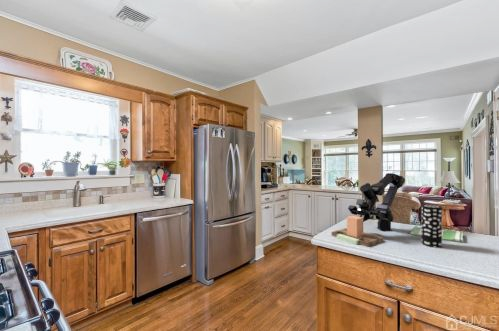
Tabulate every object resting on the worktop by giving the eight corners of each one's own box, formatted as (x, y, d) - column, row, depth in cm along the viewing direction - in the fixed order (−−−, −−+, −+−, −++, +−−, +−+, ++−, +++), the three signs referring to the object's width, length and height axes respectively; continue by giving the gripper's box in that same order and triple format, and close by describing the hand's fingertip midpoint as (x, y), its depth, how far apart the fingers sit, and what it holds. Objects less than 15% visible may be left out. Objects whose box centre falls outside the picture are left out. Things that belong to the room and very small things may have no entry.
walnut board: (347, 231, 147) (347, 227, 147) (383, 241, 128) (383, 237, 128) (331, 235, 139) (331, 232, 139) (367, 246, 120) (367, 242, 120)
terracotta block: (353, 232, 137) (353, 215, 137) (363, 235, 132) (363, 217, 131) (347, 234, 134) (347, 217, 133) (356, 237, 128) (356, 219, 128)
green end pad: (340, 237, 135) (340, 233, 135) (359, 243, 125) (359, 239, 125) (336, 238, 133) (336, 234, 133) (356, 244, 123) (356, 240, 123)
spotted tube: (437, 242, 125) (437, 205, 124) (444, 248, 117) (445, 208, 116) (418, 241, 127) (419, 204, 127) (424, 246, 119) (425, 207, 119)
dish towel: (414, 228, 152) (414, 224, 152) (463, 236, 137) (463, 231, 137) (410, 235, 139) (410, 230, 139) (463, 244, 123) (463, 239, 123)
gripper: (349, 192, 145) (338, 212, 139) (380, 195, 129) (368, 218, 123) (357, 203, 149) (346, 223, 143) (387, 208, 133) (376, 231, 128)
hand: (358, 223), depth 134 cm, fingers closed, pressing on terracotta block
